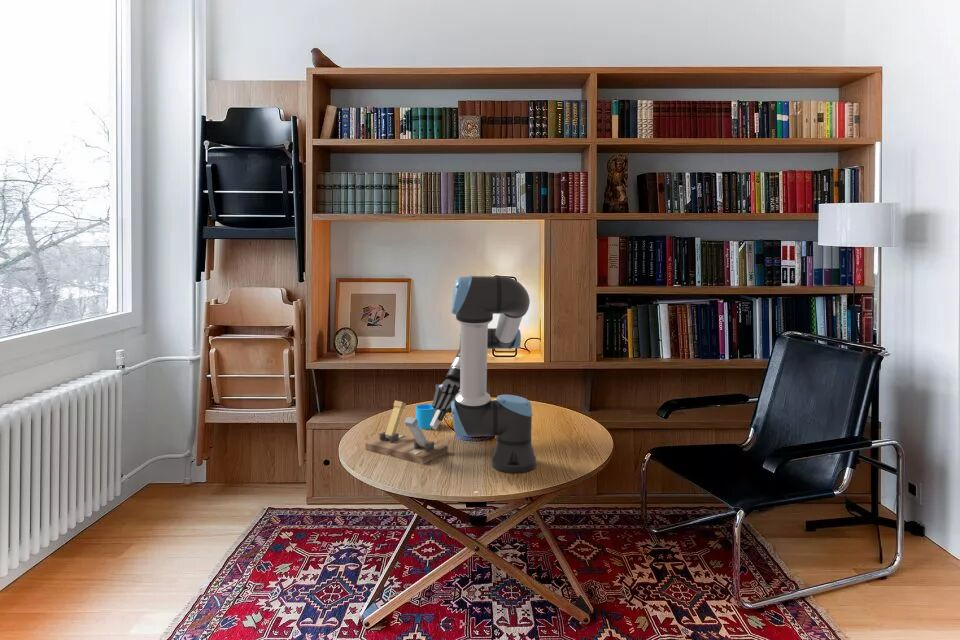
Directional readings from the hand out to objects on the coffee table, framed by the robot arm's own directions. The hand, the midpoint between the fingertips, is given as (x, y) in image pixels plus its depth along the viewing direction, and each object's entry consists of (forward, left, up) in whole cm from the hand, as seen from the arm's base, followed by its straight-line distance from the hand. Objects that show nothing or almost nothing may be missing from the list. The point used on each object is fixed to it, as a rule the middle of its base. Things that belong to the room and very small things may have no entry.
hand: (432, 427), depth 231 cm
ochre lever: (+14, +9, -5) cm, 17 cm away
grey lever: (-2, +5, -5) cm, 7 cm away
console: (+6, +7, -9) cm, 13 cm away
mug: (+26, -17, -9) cm, 32 cm away
